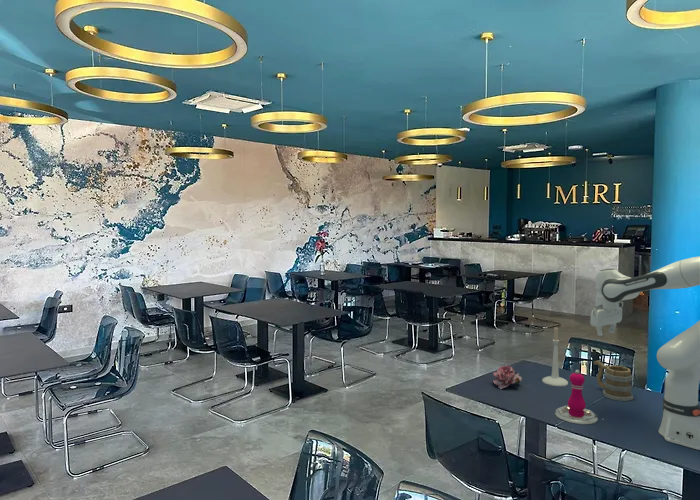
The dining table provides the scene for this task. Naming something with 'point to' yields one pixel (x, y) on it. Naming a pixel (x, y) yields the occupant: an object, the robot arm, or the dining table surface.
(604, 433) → the dining table surface
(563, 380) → the candlestick
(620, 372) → the tankard
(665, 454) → the dining table surface
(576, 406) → the pepper mill
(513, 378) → the flower
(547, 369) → the dining table surface
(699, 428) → the robot arm
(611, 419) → the dining table surface
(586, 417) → the silver metal plate
